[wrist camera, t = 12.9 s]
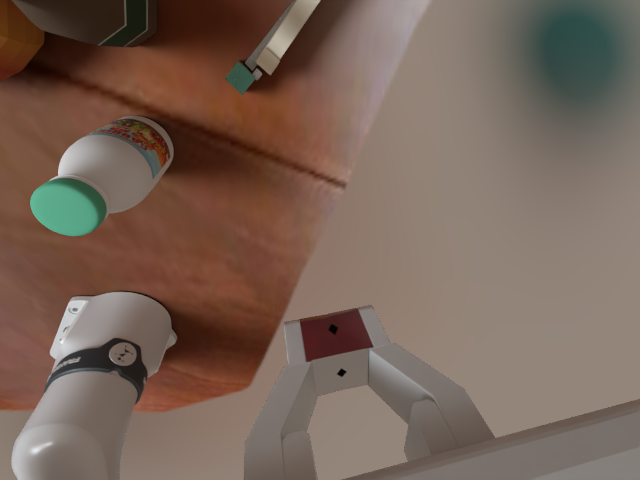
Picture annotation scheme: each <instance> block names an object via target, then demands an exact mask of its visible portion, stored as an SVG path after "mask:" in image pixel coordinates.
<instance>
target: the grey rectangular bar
mask: <svg viewBox="0 0 640 480" xmlns="http://www.w3.org/2000/svg"><path fill="white" fill-rule="evenodd" d="M319 2H320V0H296V1H295V3H294V4H293V6H292V7H291V9H290V10H289V12H288V13H287V15H286V16H285V18H284V19H283V21H282V22H281V24H280V25H279V27H278V28H277V30H276V31H275V33H274V34H273V36H272V37H271V39H270V40H269V42H268V44H267V45H266V47H264V48H263V49H262V51H261V52H260V54H259V55H258V57H257V58H256V60H255V62H256V63H257V64H258V65H259V66H260V67H261V68H262V69H264V70H265V71H266V72H267V73H268V74H269V75H270V76H271V74H272V73H273V71H274V70H275V68H276V67H277V65H278V64H279V62H280V61H279V60H280V59H281V57H282V56H283V54H284V53H285V51H286V50H287V48H288V47H289V46H290V44H291V43H292V41H293V40H294V38H295V37H296V35H297V34H298V32H299V31H300V29H301V28H302V27H303V25H304V24H305V22H306V21H307V19H308V18H309V16H310V15H311V13H312V12H313V11H314V9H315V8H316V6H317V5H318V3H319Z"/></svg>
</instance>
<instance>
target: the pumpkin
mask: <svg viewBox="0 0 640 480" xmlns="http://www.w3.org/2000/svg"><path fill="white" fill-rule="evenodd" d="M43 44H44V31H43V30H41V29H40V28H38V27H37V26H36V25H35V24H34V23H32V22H31V21H30V20H29V19H28V18H27V16H26V15H25V14H24V13H23V12H22V11H21V10H20V9H19V8H18V7H17V6H16V4H15V3H14V2H13V1H12V0H0V81H2V80H4V79H6V78H8V77H10V76H12V75H14V74H16V73H18V72H20V71H22V70H23V69H24V68H25V66H26V65H27V64H28V63H29V61H30V60H31V59H32V58H33V56H34V55H35V54H36V53H37V51H38V50H39V49H40V48H41V46H42V45H43Z"/></svg>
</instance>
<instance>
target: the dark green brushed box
mask: <svg viewBox="0 0 640 480" xmlns="http://www.w3.org/2000/svg"><path fill="white" fill-rule="evenodd" d="M261 75H262V73H261V72H260V71H259V70H258V68H256V70H255V71H254V72H253V73H252V72H251V71H250V70H249V69H248V68H247V67H246V66H245V65H244V64H243V63H242V62H241V61H240V60H239V61H238V62H237V64H236V65H235V66H234V68H233V69H232V70H231V71H230V73H229V74H228V75H227V77H226V78H225V79H226V80H227V81H228V82H229V83H230V84H231V85H232V86H233V87H234V88H235V89H236V90H237V91H239V92H240V93H241V94H242V95H243V94H244V92H245V91H246V90H247V89H248V87H249V86H250V85H251V84H252V82H253V81H254V80H256V81H257V80H258V79H259V78H260V77H261Z"/></svg>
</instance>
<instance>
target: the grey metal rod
mask: <svg viewBox="0 0 640 480" xmlns="http://www.w3.org/2000/svg"><path fill="white" fill-rule="evenodd" d="M295 1H296V0H293V2H292V3H291V4H290V6H289V7H288V8H287V9H286V11H285V12H284V13H283V15H282V16H281V17H280V18H279V20H278V21H277V22H276V24H275V25H274V26H273V27H272V29H271V30H270V31H269V33H268V34H267V35H266V36H265V38H264V39H263V40H262V42H261V43H260V44H259V45H258V47H257V48H256V49H255V50H254V52H253V53H252V54H251V56H250V57H249V58H248V59H247V61H246V62H245V64H246V65H247V66H248V67H249V68H250V69H251V70H252V71H253V70H254V68H255V67H256V66H257V65H258V64H257V63H256V62H255V60H256V58H257V57H258V55H259V54H260V52H261V51H262V49H263V48H264V47H266V45H267V44H268V42H269V40H270V39H271V37H272V36H273V34H274V33H275V31H276V30H277V28H278V27H279V25H280V24H281V22H282V21H283V19H284V18H285V16H286V15H287V13H288V12H289V10H290V9H291V7H292V6H293V4H294V3H295Z"/></svg>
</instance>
